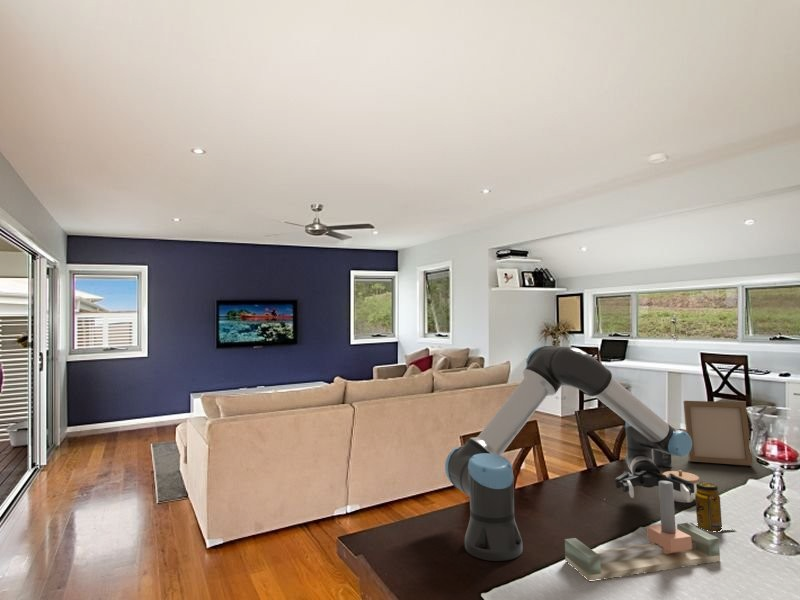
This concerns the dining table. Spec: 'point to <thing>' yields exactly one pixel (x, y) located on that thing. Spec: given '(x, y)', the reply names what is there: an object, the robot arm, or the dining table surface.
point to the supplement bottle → (662, 459)
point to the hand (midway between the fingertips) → (659, 494)
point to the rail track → (647, 563)
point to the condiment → (708, 507)
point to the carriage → (668, 524)
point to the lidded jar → (687, 477)
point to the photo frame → (718, 432)
